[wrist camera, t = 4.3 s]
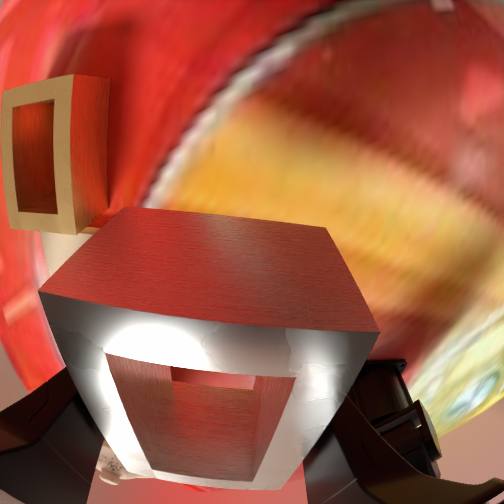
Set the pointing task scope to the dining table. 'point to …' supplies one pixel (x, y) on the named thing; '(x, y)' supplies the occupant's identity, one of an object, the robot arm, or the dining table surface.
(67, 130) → the link
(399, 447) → the robot arm
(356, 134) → the dining table surface
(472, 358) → the dining table surface
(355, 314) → the link
